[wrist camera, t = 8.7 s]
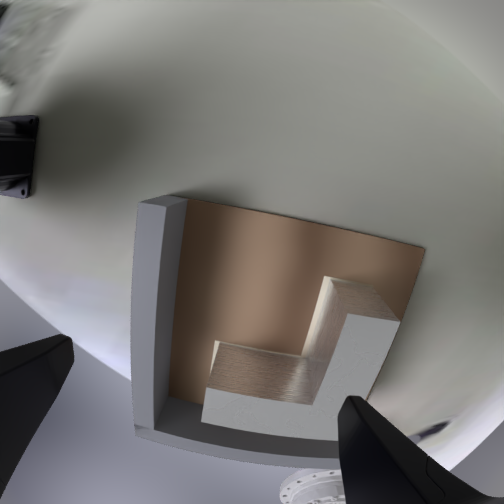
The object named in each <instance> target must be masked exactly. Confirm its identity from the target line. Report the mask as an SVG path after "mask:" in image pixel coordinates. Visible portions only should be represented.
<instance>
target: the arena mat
mask: <svg viewBox="0 0 504 504" xmlns="http://www.w3.org/2000/svg"><path fill="white" fill-rule="evenodd" d="M178 198H180V197H178ZM184 199H188V202H187V209H186V215H185V222H184V229H183V237H182V244H181V252H180V260H179V269H178V278H177V287H176V297H175V307H174V318H173V330H172V342H171V357H170V373H169V393H168V396H170V397H173V398H177V399H181V400H185V401H189V402H193V403H198V404H202V405H204V399H205V393H206V387H207V383H208V380H209V377H210V373H211V370H212V367H213V363H214V360H215V356H216V353H217V350H218V346H219V343H220V342H222V343H227V344H232V345H237V346H242V347H246V348H252V349H257V350H262V351H267V352H273V353H279V354H285V355H290V356H297V357H303V358H305V357H306V354H307V351H308V348H309V345H310V342H311V339H312V336H313V333H314V330H315V327H316V323H317V320H318V317H319V314H320V311H321V307H322V304H323V301H324V297H325V294H326V291H327V287H328V284H329V280H330V279H334V280H339V281H344V282H349V283H354V284H359V285H364V286H370V287H373V288H374V289H375V290H376V292H377V293H378V294H379V295H380V297H381V298H382V299H383V300H384V302H385V303H386V304H387V305H388V307H389V308H390V309H391V310H392V312H393V313H394V314H395V316H396V317H397V318H398V319H399V321H400V323H401V321H402V318H403V315H404V313H405V310H406V307H407V304H408V302H409V299H410V296H411V293H412V290H413V287H414V284H415V281H416V278H417V275H418V272H419V268H420V265H421V262H422V258H423V255H424V252H425V249H424V248H421V247H417V246H413V245H409V244H405V243H401V242H397V241H393V240H389V239H384V238H380V237H376V236H372V235H367V234H363V233H359V232H354V231H350V230H346V229H341V228H337V227H332V226H327V225H323V224H318V223H314V222H309V221H304V220H299V219H295V218H290V217H285V216H280V215H275V214H270V213H265V212H260V211H255V210H249V209H244V208H239V207H234V206H228V205H223V204H217V203H212V202H206V201H200V200H195V199H189V198H184ZM399 326H400V325H399ZM398 328H399V327H398ZM397 331H398V330H397ZM396 333H397V332H396ZM395 336H396V334H395ZM394 338H395V337H394ZM393 341H394V339H393ZM392 343H393V342H392ZM391 345H392V344H391ZM390 348H391V346H390ZM389 350H390V349H389ZM388 353H389V351H388ZM388 353H387V355H388ZM387 355H386V357H387ZM385 359H386V358H385ZM384 362H385V360H384ZM384 362H383V364H384ZM383 364H382V366H383ZM382 366H381V368H382ZM380 370H381V369H380ZM379 373H380V371H379ZM379 373H378V375H379ZM378 375H377V377H378ZM377 377H376V379H377ZM376 379H375V381H376ZM375 381H374V383H375ZM374 383H373V385H374ZM373 385H372V387H373ZM372 387H371V389H372ZM371 389H370V391H371ZM370 391H369V393H370ZM369 393H368V395H369ZM368 395H367V397H368ZM367 397H366V399H367ZM366 399H365V401H366Z"/></svg>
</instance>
